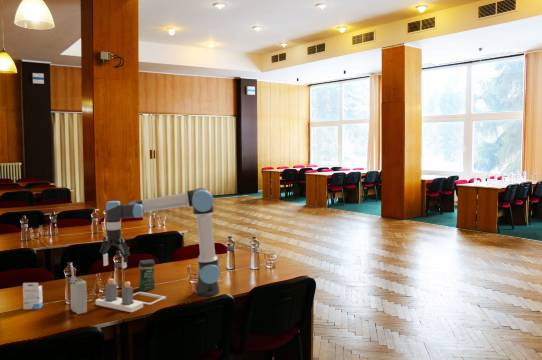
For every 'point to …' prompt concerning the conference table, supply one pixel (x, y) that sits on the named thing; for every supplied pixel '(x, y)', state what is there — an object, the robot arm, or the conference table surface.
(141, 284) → the coffee jar
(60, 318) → the conference table surface
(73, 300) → the jerry can
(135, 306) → the strip
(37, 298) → the ink box
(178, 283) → the conference table surface
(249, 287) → the conference table surface
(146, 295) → the tray
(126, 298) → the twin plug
